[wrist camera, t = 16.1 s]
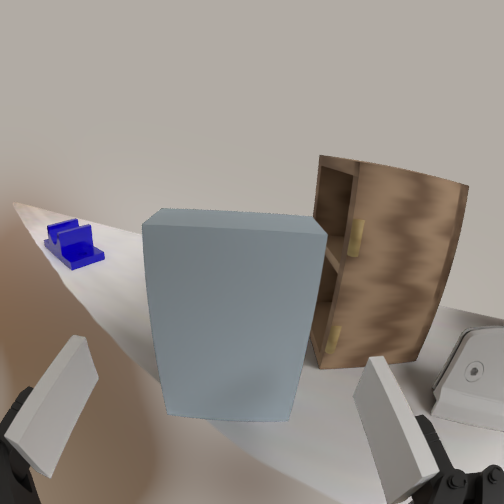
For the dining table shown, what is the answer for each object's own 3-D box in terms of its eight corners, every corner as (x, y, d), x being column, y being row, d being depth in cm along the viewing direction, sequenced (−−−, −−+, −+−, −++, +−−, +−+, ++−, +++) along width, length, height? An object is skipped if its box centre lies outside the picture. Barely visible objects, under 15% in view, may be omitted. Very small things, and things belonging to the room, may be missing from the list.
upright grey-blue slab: (282, 382, 25) (309, 213, 20) (288, 421, 21) (327, 234, 15) (176, 376, 25) (164, 205, 19) (167, 414, 20) (141, 224, 15)
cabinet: (377, 305, 40) (405, 169, 33) (417, 363, 27) (472, 186, 20) (300, 304, 39) (319, 154, 32) (320, 372, 27) (362, 162, 20)
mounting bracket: (45, 247, 52) (41, 221, 50) (71, 239, 58) (68, 215, 56) (72, 272, 43) (67, 239, 41) (105, 261, 49) (101, 230, 47)
